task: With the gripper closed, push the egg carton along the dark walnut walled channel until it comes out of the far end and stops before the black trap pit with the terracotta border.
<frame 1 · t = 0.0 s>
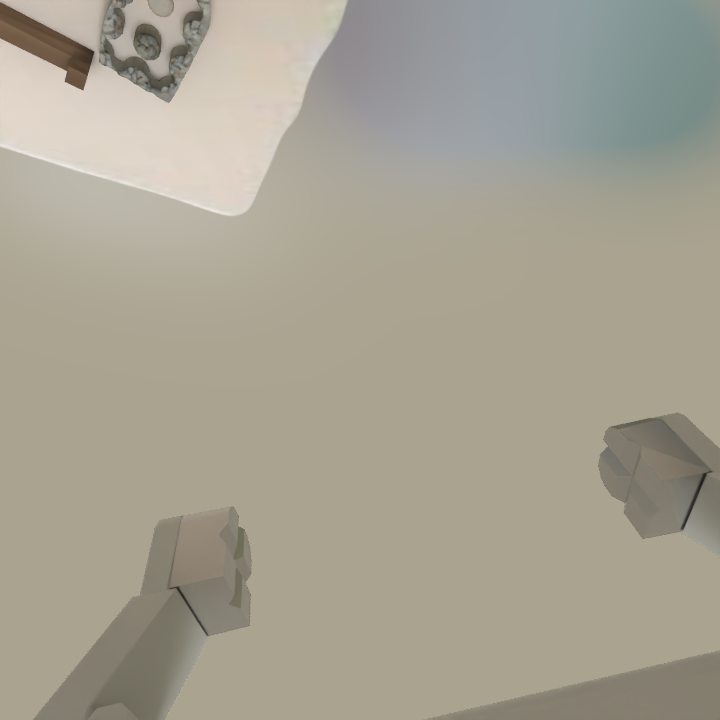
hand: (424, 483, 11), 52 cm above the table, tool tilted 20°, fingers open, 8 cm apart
egg carton: (156, 19, 47), on the table
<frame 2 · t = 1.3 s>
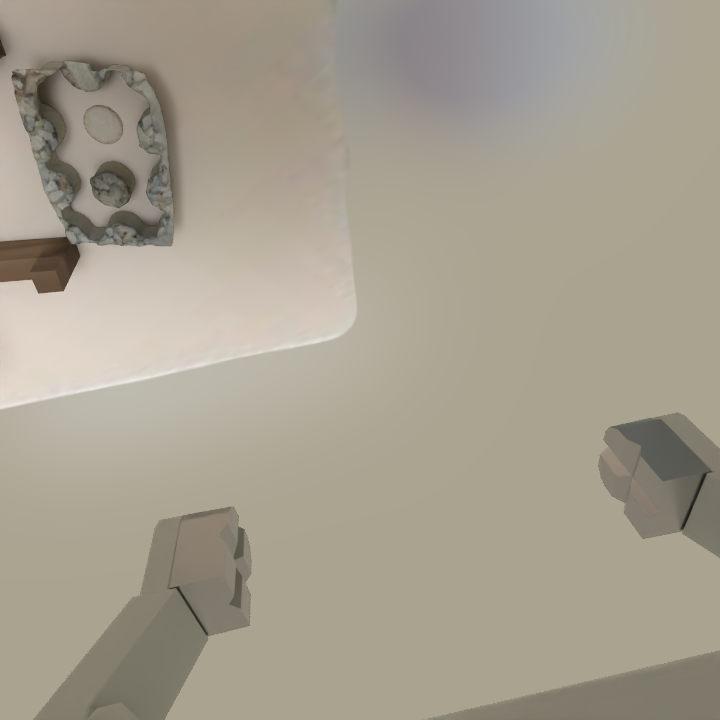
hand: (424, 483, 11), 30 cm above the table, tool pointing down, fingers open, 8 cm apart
egg carton: (114, 150, 33), on the table
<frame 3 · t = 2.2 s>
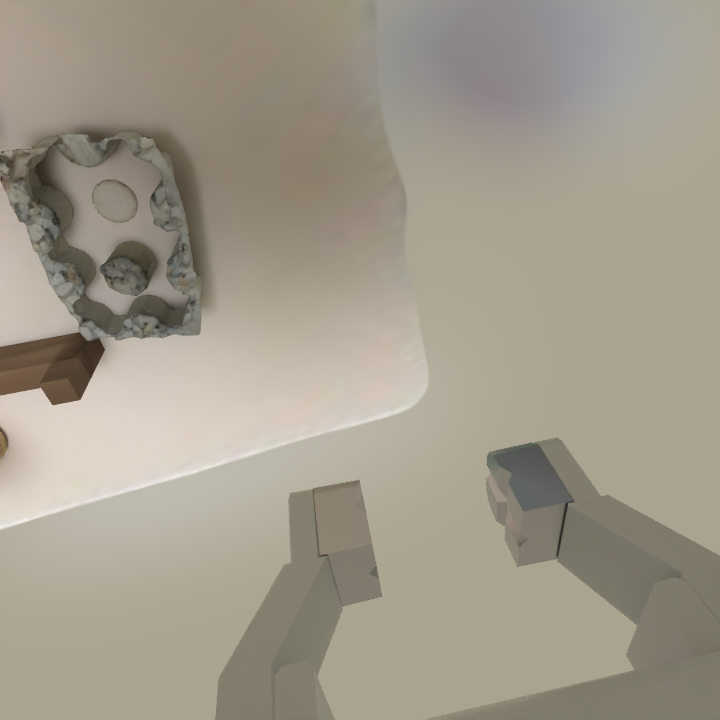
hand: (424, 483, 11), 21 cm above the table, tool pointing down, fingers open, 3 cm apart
egg carton: (130, 229, 28), on the table
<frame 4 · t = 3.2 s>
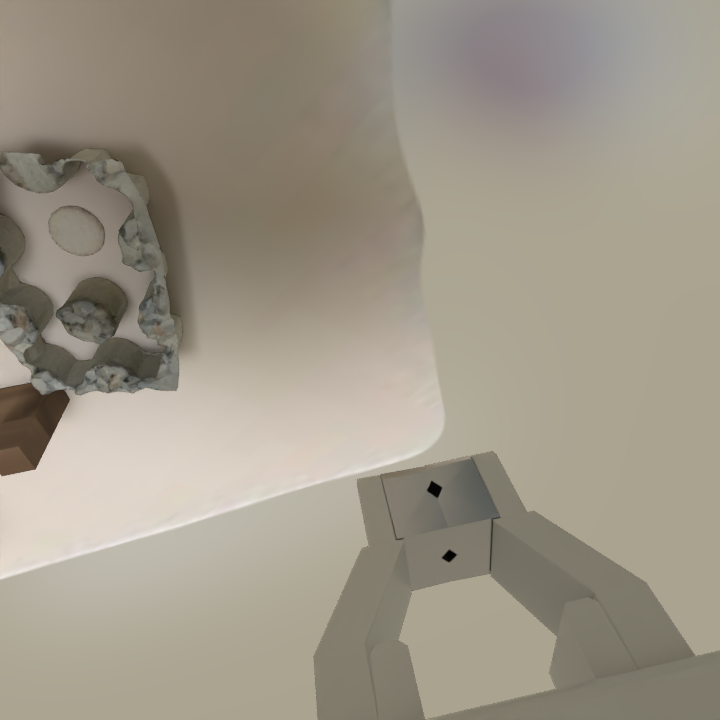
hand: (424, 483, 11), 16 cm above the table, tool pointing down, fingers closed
egg carton: (96, 262, 23), on the table
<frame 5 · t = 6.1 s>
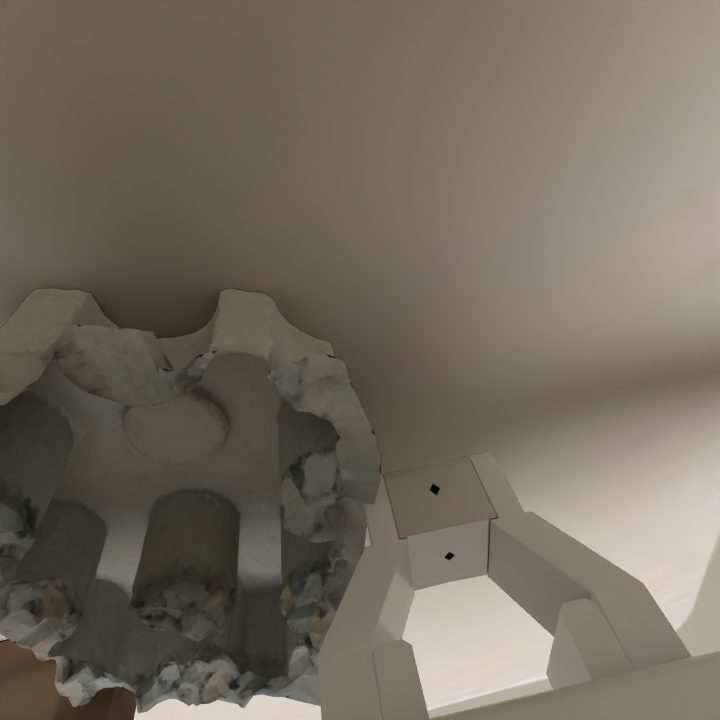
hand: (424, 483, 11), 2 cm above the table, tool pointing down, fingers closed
egg carton: (196, 465, 12), on the table
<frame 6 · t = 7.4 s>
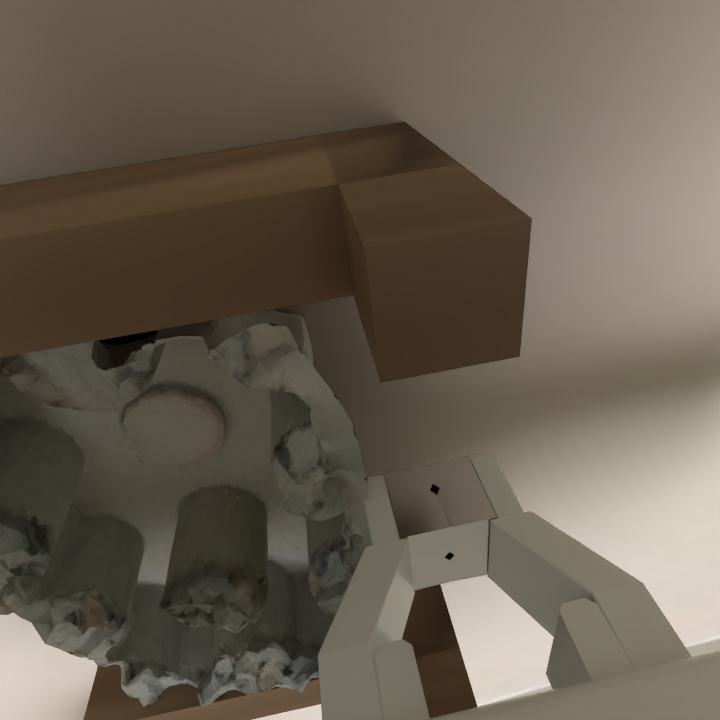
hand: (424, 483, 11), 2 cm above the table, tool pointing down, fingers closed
walled channel: (224, 461, 12), on the table
egg carton: (210, 463, 12), on the table, touching gripper
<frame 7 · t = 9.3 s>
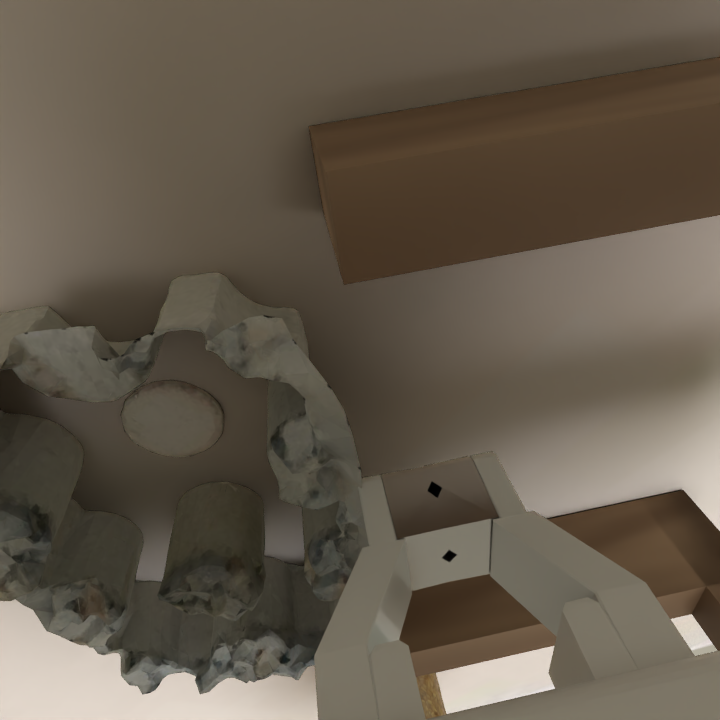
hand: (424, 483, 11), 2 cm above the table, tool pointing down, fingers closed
walled channel: (552, 389, 13), on the table
egg carton: (208, 455, 13), on the table
sprinkles bottle: (374, 646, 19), on the table
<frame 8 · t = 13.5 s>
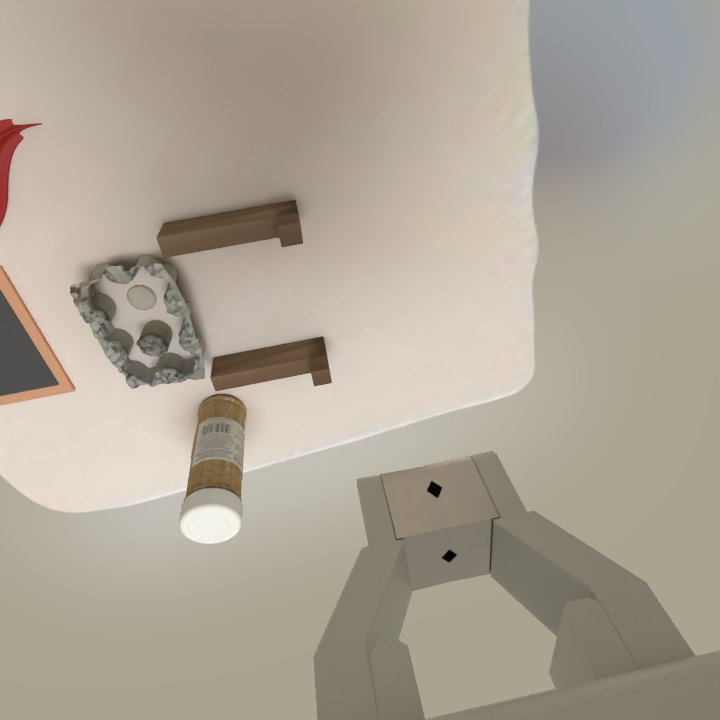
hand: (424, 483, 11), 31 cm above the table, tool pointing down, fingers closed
walled channel: (253, 293, 41), on the table
egg carton: (153, 312, 41), on the table
sprinkles bottle: (223, 409, 48), on the table
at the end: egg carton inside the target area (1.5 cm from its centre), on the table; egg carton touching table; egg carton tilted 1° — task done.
